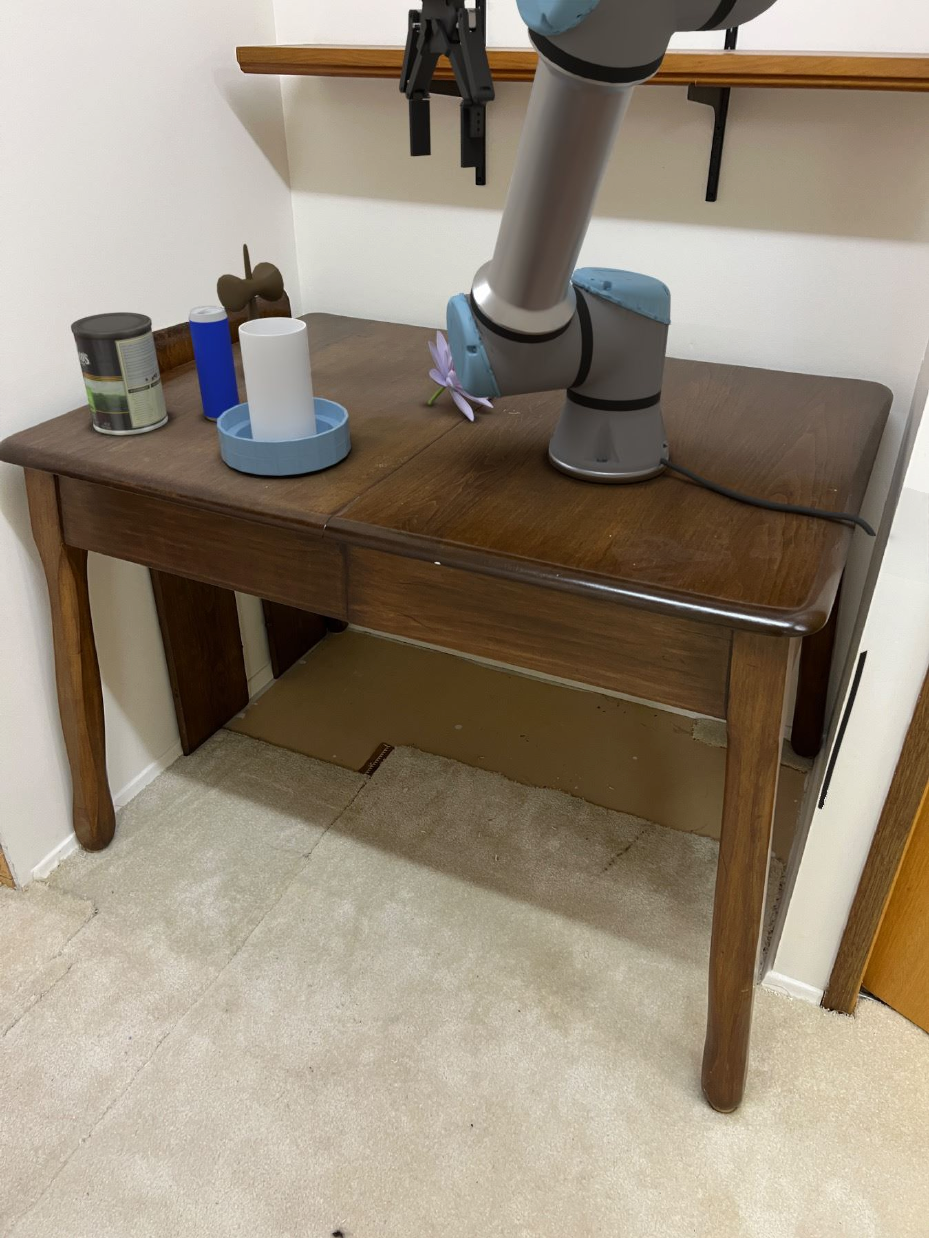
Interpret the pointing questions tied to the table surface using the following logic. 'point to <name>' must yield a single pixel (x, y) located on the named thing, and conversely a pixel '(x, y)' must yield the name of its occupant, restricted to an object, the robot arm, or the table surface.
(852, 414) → the table surface
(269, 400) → the cup
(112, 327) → the coffee can
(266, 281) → the kendama
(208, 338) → the beverage can
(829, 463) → the table surface
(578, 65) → the robot arm
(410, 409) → the table surface
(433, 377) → the water lily
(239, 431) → the bowl
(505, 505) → the table surface
